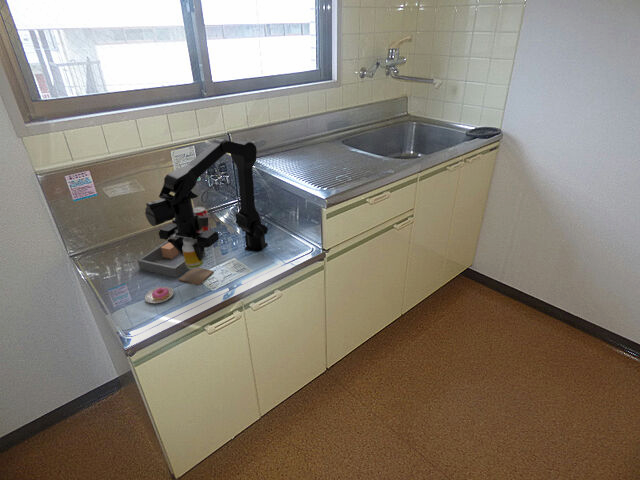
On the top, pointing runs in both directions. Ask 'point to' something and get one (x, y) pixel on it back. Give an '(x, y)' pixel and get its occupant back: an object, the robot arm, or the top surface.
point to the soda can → (202, 212)
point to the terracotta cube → (169, 251)
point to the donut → (159, 294)
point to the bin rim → (149, 265)
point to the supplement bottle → (190, 254)
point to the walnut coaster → (196, 276)
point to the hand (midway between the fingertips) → (193, 258)
